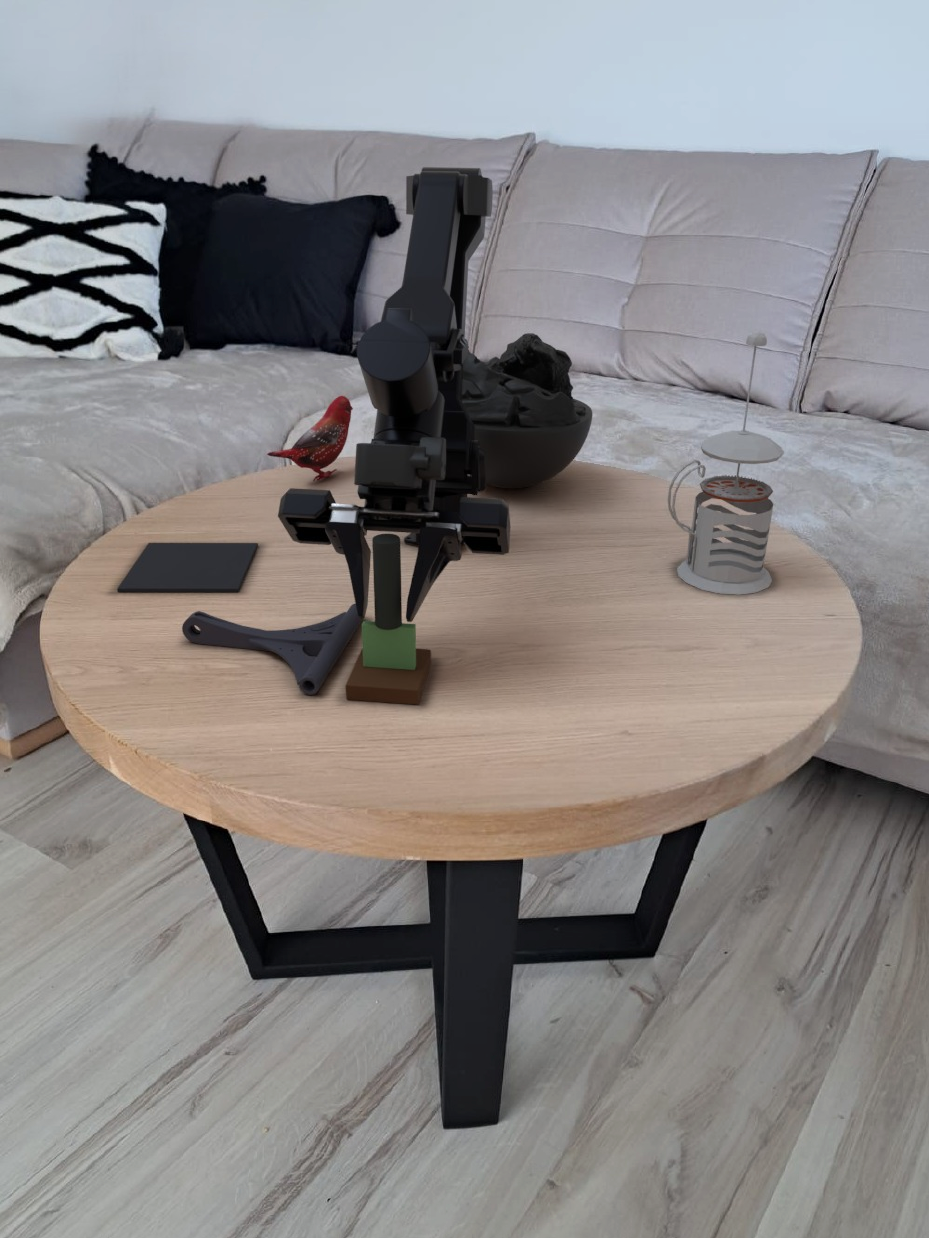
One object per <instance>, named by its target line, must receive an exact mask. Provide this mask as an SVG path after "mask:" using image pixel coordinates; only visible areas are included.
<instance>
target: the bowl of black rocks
mask: <svg viewBox="0 0 929 1238" xmlns="http://www.w3.org/2000/svg"><path fill="white" fill-rule="evenodd" d="M465 341H466V342H467V343H468V344H469V341H468V340H467V338H465ZM469 348H470V347H469V346H468V355H467V358H466V359H465V361H464V362H463V382H462V403H463V405H464V407H465V408H466V410H467V412H468V414H469V416H470V418H471V420H472V422H473V424H474V427H475V432H474V440H479V445H480V447H481V451H482V452H483V453H484V454H485V467H486V485H488V486H492V487H494V488H495V487H496V488H499V489H500V488H502V489H524V488H529V487H534V486H536V485H540V484H542V483H545V482H547V481H549V480H550V479H553V478H554V477H556V476H557V475H558V474H560V473H561V472H563V471H564V470H565V469H566V468H567V467H568V466H569V465H570V464H571V463H572V462H573V461H574V460H575V459H576V457H577V456H578V455H579V453H580V451H581V449H582V448H583V446H584V444H585V443H586V440H587V438H588V435H589V433H590V429H591V425H592V420H593V415H594V414H593V409H592V408H591V407H590V406H589V405H588V404H586V403H585V402H583V401H581V400H579V399H577V398H574V396H572V391H573V390H574V386H573V385H572V383H571V378H570V375H569V373H570V369H571V367H572V365H573V361H572V359H571V357H570V356H569V355H568V354H567V352H566V351H564V350H561V349H557V348H556V347H554V346H553V345H551V344H548V343H547V342H544V341H543V340H542V339H541V337H540V336H538V334H536V333H534V332H529V333H528V332H527V333H524V334H522V335H521V336H520V337H518V338H517V339H516V340H515V341H512V342H510V343H507V346H506V349H505V351H504V352H503V353H502V354H501V355H500V357H498V356H494V357H492V358H490V359H489V361H488V362H487V363H485V362H484V361H481V360H480V359H479V358H478V357H477V356H476V355H475V354H473V353H472V352H471V351H470V349H469ZM467 476H472V474H468V475H467Z"/></svg>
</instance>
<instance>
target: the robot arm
mask: <svg viewBox="0 0 929 1238" xmlns="http://www.w3.org/2000/svg"><path fill="white" fill-rule="evenodd" d="M493 189H494V188H493V180H492V179H491V178H489V177H484V176H483V173H482V168H480V167H439V166H438V167H436V166H430V167H429V166H423V167H422V168H421V170H420V173H414V175H406V177H405V214H406V215H410V216H412V221H411V228H410V233H409V238H408V239H409V240H408V245H407V253H406V259H405V266H404V271H403V277H402V284H401V286H400V287H399V288H398V289H397V290H396V291H395V292H394V293H392V294H391V295H390V296H389V297H388V298H387V299H386V300H385V301H384V306H383V311H382V314H381V318H380V321H378V322H377V323H374V324H373V325H371V326H370V327H368V329H367V330H366V331H365V332H364V333H363V334H362V335H361V338H360V339H359V340H358V341H357V345H356V358H357V361H358V364H359V367H360V370H361V374H362V378H363V380H364V383H365V386H366V390H367V393H368V396H369V399H370V402H371V405H372V407H373V408H374V409H375V410H376V415H375V416H376V417H375V424H374V431H373V437H372V438H371V442H358V443H356V445H355V461H354V462H355V464H354V480H353V484H354V485H355V486H357V495H358V498H359V499H360V500H364V503H363V504H364V505H363V506H359V505H357V504H351V503H337V502H336V500H335V498H334V496H333V494H332V491H331V490H330V489H314V488H313V489H312V488H297V487H296V488H295V487H294V488H293V487H290V488H289V489H288V490H287V491H286V492H285V493H284V494H283V495H282V496H281V497H280V501H279V507H278V513H277V517H278V519H279V520H280V522H281V524H282V526H283V527H284V529H285V530H286V532H287V534H288V536H289V537H290V539H291V541H293V542H296V543H298V544H303V545H304V544H305V545H323V546H330V545H332V547H333V549H334V551H335V552H336V553H337V554H339V555H344V558H345V561H346V564H347V568H348V572H349V577H350V583H351V587H352V592H353V593H352V594H353V598H354V604H355V603H356V609H357V614H358V616H359V618H360V619H363V620H364V619H366V613H367V609H368V604H369V590H370V589H369V588H370V573H371V557H372V556H371V555H372V550H371V548H370V546H369V543H368V542H367V539H366V537H365V536H367V535H368V531H371V532H388V533H405V534H406V533H407V534H408V533H409V534H408V535H406V536H405V537H404V538H403V542H404V543H405V544H408V545H413V546H418V547H417V555H416V559H415V563H414V568H413V572H412V577H411V582H410V586H409V589H408V596H407V599H406V600H407V601H406V610H405V619H406V622H408V623H412V622H413V621H414V619H415V618H416V615H417V614H418V612H419V610H420V609H421V607H422V605H423V603H424V601H425V599H426V597H427V596H428V594H429V592H430V590H431V589H432V586H433V585H434V584H435V583H436V581H437V579H438V578H439V576H440V575H441V574H442V573H443V571H444V570H445V569H446V567H447V566H448V564H449V563H450V562H460V561H461V560H462V555H463V553H462V548H463V547H464V546H465V547H466V548H467V549H468V550H469V551H470V552H471V553H472V554H479V555H480V554H482V555H496V556H497V555H498V556H504V555H507V554H509V553H510V542H511V517H510V506H509V505H508V504H507V503H506V501H505V500H504V498H491V497H490V498H488V497H472V496H478V494H479V493H481V492H484V491H486V489H487V488H486V485H487V484H486V467H485V454H484V453H483V452H482V451H481V447H480V445H479V440H474V432H475V427H474V424H473V422H472V420H471V418H470V416H469V414H468V412H467V410H466V408H465V407H464V405H463V403H462V382H463V362H464V361H465V359H466V358H467V355H468V350H469V348H468V347H469V342H468V341H467V342H468V343H467V342H466V341H465V339H466V319H467V301H468V299H467V296H468V281H469V280H468V277H469V261H470V260H471V258H472V257H473V255H474V253H475V252H476V251H477V250H478V248H479V246H480V245H481V243H482V242H483V240H484V238H485V233H486V220H487V219H486V218H488V217H489V218H490V217H492V213H493V212H492V211H493V195H494V194H493V193H494V191H493ZM468 474H472V476H470V475H468ZM468 495H472V496H471V497H469V496H468Z"/></svg>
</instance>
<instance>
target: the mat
mask: <svg viewBox="0 0 929 1238" xmlns="http://www.w3.org/2000/svg"><path fill="white" fill-rule="evenodd" d="M258 547H259V544H258V542H148V543H147V544H146V545H145V547H144V549H143V550H142V552H141V553H140V555H139V556H138V558H137V559H136V560H135V562H134V563H133V565H132V566H131V568H130V569H129V571H128V572H127V573H126V575H125V576H124V578H123V579H122V580H121V582H120V583H119V585H118V586H117V588H116V590H117V593H239V591H240V589H241V587H242V585H243V581H244V580H245V578H246V575H247V572H248V570H249V568H250V566H251V563H252V561H253V559H254V556H255V554H256V552H257V549H258Z"/></svg>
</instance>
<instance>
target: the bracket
mask: <svg viewBox="0 0 929 1238" xmlns="http://www.w3.org/2000/svg"><path fill="white" fill-rule="evenodd" d="M363 621H364V619H360V618H359V616H358V614H357V609H356V603H355V602H354V603H353V604H351V605H350V607H349V608H348V609H347V611H343V612H341V613H339V614H337V615H335V616H333V617H331V618H329V619H326V620H323V621H320V622H317V623H314V624H309V625H305V626H302V627H301V626H300V627H297V628H288V629H287V628H286V629H278V630H265V629H261V628H255V627H251V626H246V625H242V624H238V623H236V622H232V621H229V620H226V619H223V618H220V617H217V616H214V615H212V614H209V613H206V612H204V611H200V610H197V611H194V612H192V613H191V614H190V615H189V616H188V617H187V618H186V619H185V621H184V622H183V623H182V626H181V631H182V635H184V637H185V638H186V639H187V640H188V641H190V642H191V643H194V644H199V645H206V646H207V645H208V646H216V647H217V646H218V647H225V648H235V649H236V648H238V649H246V650H255V651H263V652H264V651H265V652H272V653H274V654H276V655H277V656H280V657H281V658H282V659H283V660H284V661H285V662H286V663H287V664H288V665H289V667H290V668H291V670H292V671H293V674H294V676H295V681H296V685H297V686H298V687H299V690H300V691H301V692H302V693H304V694H305V695H309V696H312V695H316V694H317V693H318V691H319V689H321V686H323V684H324V682H325V680H326V679H327V678H328V675H329V674H330V672H331V671H332V669H333V667H334V666H335V664H336V663H337V661H338V660H339V658H340V656H341V655H342V653H343V652H344V651H345V648H346V647H347V645H348V643H349V642H350V640H351V639H352V637H353V635H354V634H355V632H356V630H357V629H358V628H359V626H360V624H362V623H361V622H363Z"/></svg>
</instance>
